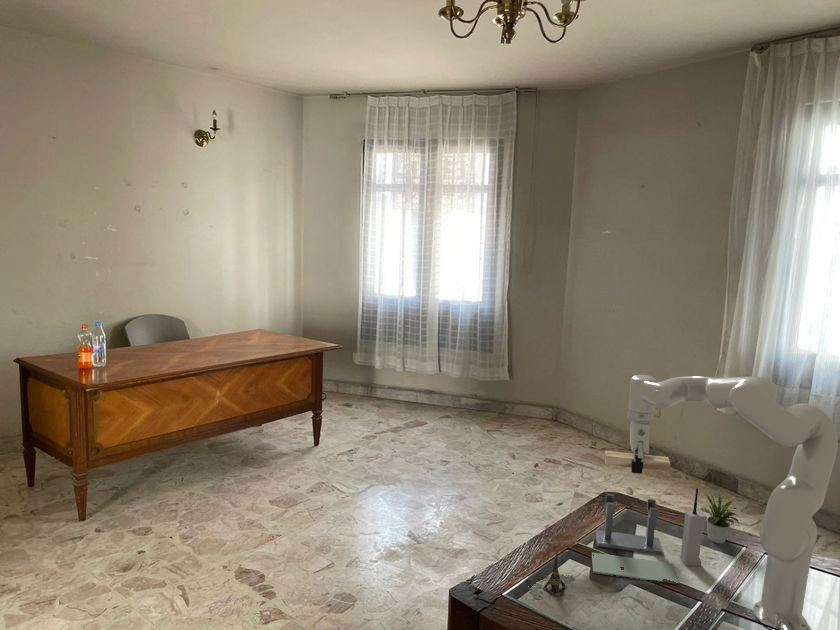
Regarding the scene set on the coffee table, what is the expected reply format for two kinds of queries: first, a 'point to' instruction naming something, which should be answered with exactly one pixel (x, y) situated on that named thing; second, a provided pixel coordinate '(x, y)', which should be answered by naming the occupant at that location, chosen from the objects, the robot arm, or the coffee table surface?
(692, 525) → the vintage mobile phone
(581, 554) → the coffee table surface
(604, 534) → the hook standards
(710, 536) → the house plant
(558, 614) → the coffee table surface
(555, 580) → the eiffel tower figurine
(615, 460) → the maple rail
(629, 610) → the coffee table surface
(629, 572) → the rubber mat
